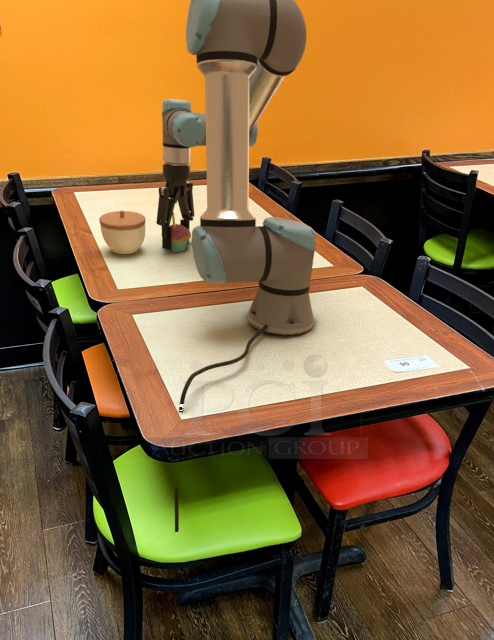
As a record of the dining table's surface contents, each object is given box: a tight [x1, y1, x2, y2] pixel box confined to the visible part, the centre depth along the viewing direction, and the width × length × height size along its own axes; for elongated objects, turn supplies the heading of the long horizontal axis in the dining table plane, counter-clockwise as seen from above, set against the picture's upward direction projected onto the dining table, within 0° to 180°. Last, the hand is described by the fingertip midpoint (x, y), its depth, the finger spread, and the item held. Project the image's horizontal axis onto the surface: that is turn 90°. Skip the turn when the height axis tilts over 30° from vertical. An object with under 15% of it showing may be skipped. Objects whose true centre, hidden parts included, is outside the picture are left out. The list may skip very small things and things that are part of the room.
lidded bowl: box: [98, 209, 146, 255], centre depth 160 cm, size 13×13×11 cm
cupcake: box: [170, 212, 192, 253], centre depth 164 cm, size 9×8×12 cm
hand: (175, 245), depth 167 cm, fingers closed on cupcake, 9 cm apart
